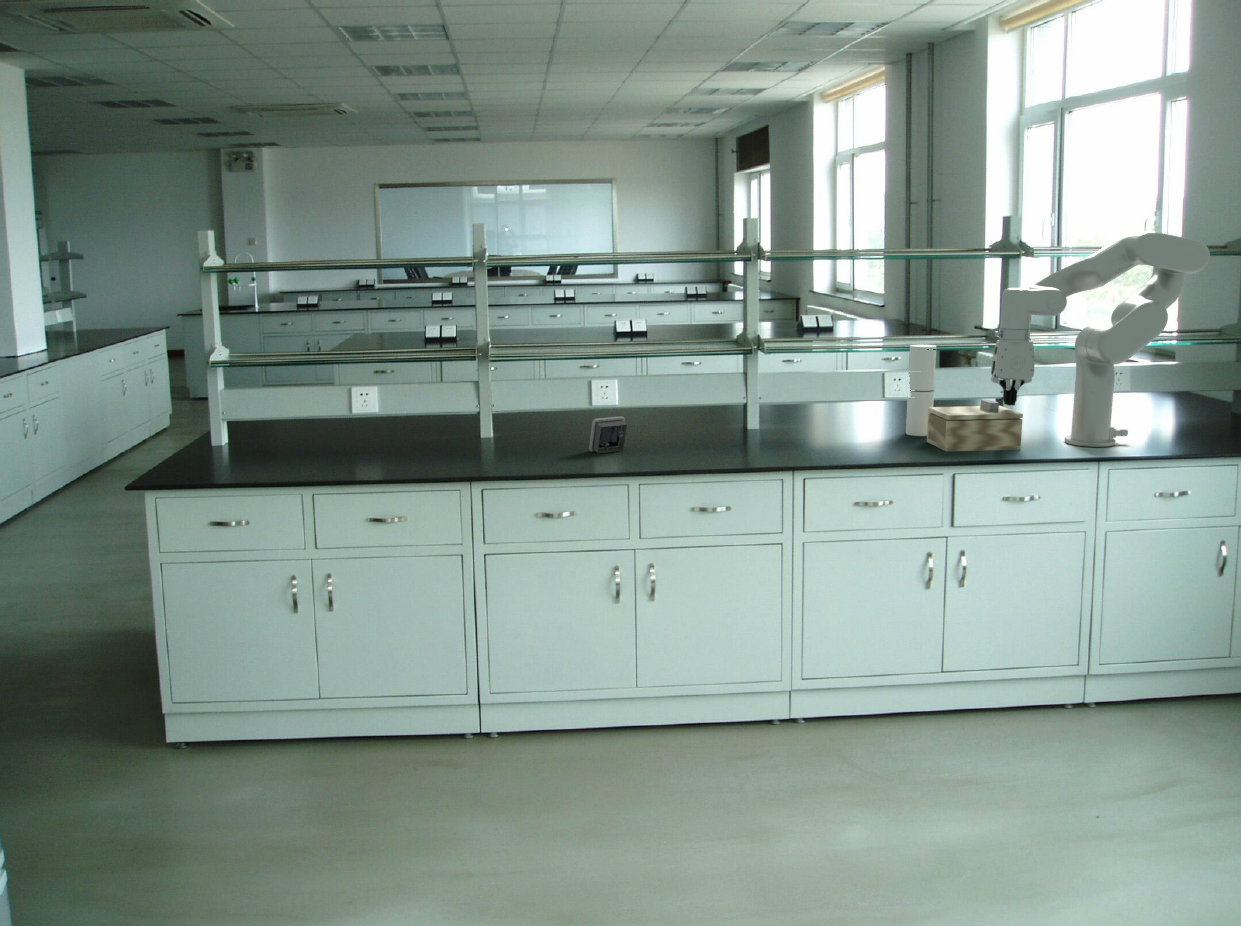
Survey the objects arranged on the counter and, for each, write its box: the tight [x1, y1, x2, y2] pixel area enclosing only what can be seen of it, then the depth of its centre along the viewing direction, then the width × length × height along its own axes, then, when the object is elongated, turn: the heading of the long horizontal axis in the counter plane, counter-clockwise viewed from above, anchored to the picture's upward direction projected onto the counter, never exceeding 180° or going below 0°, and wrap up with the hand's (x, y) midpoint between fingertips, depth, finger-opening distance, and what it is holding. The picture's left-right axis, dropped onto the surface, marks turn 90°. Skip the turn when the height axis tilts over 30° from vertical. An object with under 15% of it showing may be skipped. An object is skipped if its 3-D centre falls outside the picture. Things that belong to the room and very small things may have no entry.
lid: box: [928, 398, 1024, 420], centre depth 284 cm, size 20×14×4 cm
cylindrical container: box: [905, 343, 937, 437], centre depth 302 cm, size 7×7×25 cm
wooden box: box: [926, 413, 1024, 452], centre depth 286 cm, size 20×14×8 cm
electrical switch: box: [588, 416, 628, 454], centre depth 282 cm, size 9×5×9 cm, turn 118°
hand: (1009, 404), depth 285 cm, fingers closed
